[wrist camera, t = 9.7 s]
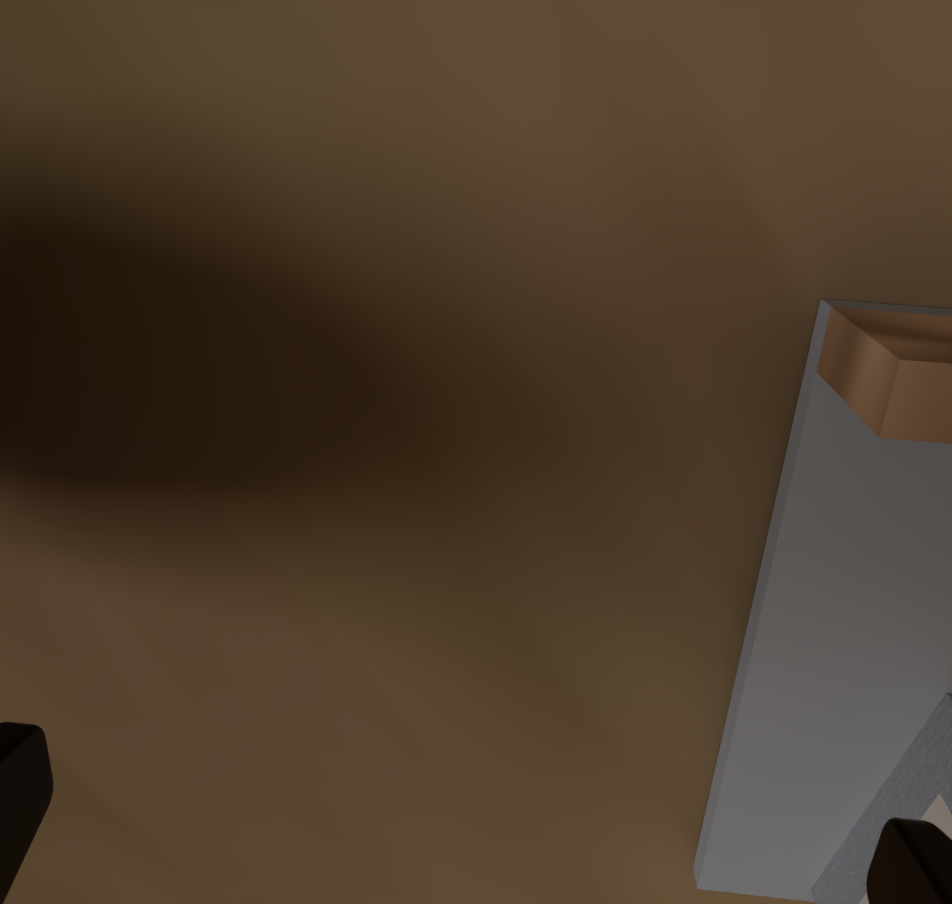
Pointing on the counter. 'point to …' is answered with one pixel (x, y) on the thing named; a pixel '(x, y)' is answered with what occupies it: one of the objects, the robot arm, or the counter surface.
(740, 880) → the mat
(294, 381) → the counter surface
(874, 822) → the bracket
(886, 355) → the walls
